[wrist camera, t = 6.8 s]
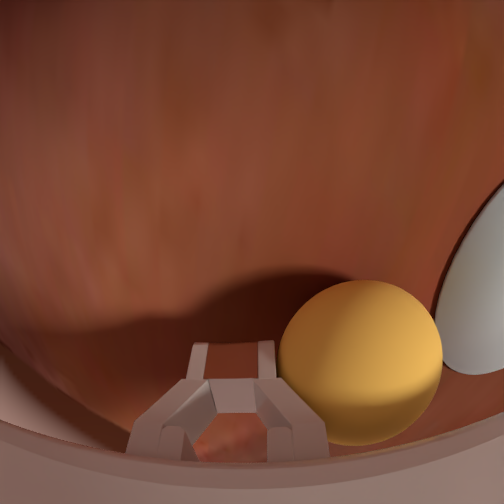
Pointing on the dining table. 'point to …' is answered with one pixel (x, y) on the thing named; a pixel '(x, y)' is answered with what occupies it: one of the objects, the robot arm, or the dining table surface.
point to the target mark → (475, 296)
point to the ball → (362, 360)
